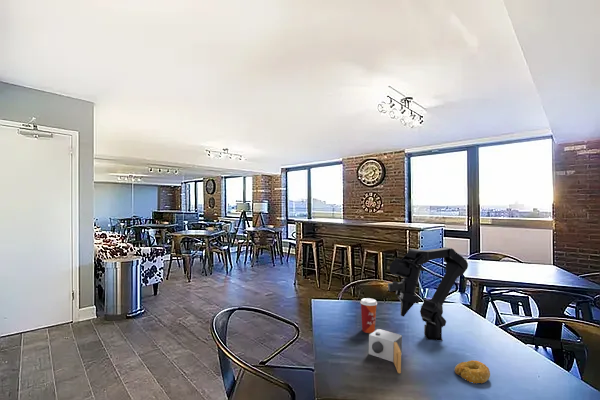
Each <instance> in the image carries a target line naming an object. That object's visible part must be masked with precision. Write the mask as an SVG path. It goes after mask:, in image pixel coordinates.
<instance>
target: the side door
mask: <svg viewBox="0 0 600 400" xmlns="http://www.w3.org/2000/svg"><path fill="white" fill-rule="evenodd" d="M393 365H394V366H395V369H396V373H397V374H401V373H402V355H401V350H400V348H399V346H398V344H397V342H396V341H394V362H393Z"/></svg>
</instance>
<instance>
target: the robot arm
mask: <svg viewBox="0 0 600 400" xmlns="http://www.w3.org/2000/svg"><path fill="white" fill-rule="evenodd" d="M439 259H443V261H444V262H445V273H444V275H443V277H442V278H441V281H440V282H439V284H438V286H437V288H436V290H435V292H434V294H433V295H432V298H430V299H429V300H428V299H425V300H424V301H423V303H422V305H421V306H420V310H419V313H420V317H421V320H422V322H425V324H424V326H423V329H424V331H423V334H424V336H425V339H426V340H430V341H440V342H443V336H442V335H443V332H442V331H443V328H444V327H446V323H447V320H446V319H445V318H444V316H443V312H444V311H443V310H444V309H443V305H444V303H445V302H446V300H447V297H448V296H449V293H450V292H451V290H452V288H453V286H454V284H455V282H456V281H457V279H458V278H459V277H460V276H463V275H464V273H465V272H466V271H467V270H468V267H469V264H468V261H467V259H466V258H465V257H463V256H462V255H461V254H460V253H458V252H457V251H456V250H455V249H453V248H452V247H446V246H445V247H441V248H440V247H439V248H433V249H426V250H422V249H412V248H410V249H408V250H407V253H405V255H403V257H402V258H397V257H395V258H394V260H393V261H391V263H390V264H389V267H388V268H389V272H390V274H392V275H395V276H398V277H401V278H402V279H401V281H400V282H398V281H392V282H388V283H387V289H388V291H389V293H390V292H392V293H394V292H395V295H397V298H398V300H399V302H400V316H401V317H405V316H406V314H407V313H408V312H409V311H410V309H411V308H412V307H413V306H414V305H415V304H418V305H419V302H420V298H419V296H418V295H417V293H416V291H417V287H419V277H420V274H421V272H425V268H424V267H423V265H424V264H427V263H428V262H429V261H432V260H439Z"/></svg>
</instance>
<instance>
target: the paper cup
mask: <svg viewBox="0 0 600 400" xmlns="http://www.w3.org/2000/svg"><path fill="white" fill-rule="evenodd" d="M359 303H360V310H361V311H360V312H361V314H360V316H361V331H362V332H363V333H366V334H371V333H373V332H374V331H376V320H377V319H376V316H377V305H378V302H377V300H376V299H374V298H370V297H366V298H365V297H364V298H362V299H361V300H360V302H359Z"/></svg>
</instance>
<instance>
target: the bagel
mask: <svg viewBox="0 0 600 400" xmlns="http://www.w3.org/2000/svg"><path fill="white" fill-rule="evenodd" d="M453 371H454V373H455V374H456V375H457V376H459V375H460V376H459V377H461V378H462V379H463V378H464V379H466V380H467V381H466V380H465V381H466V382H468V381H469V382H468V383H470V382H473V383H472V384H475V383H476V384H477V383H481V384H484V383H486V382H487V381H489V379H490V377H491V371H490V369H489V367H488V366H487V365H486V364H485V363H483V362H481V361H478V360H475V359H473V360H468V361H462V362H459V363H458V364H456V365H455V367H454V370H453ZM464 379H463V380H464Z"/></svg>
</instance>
